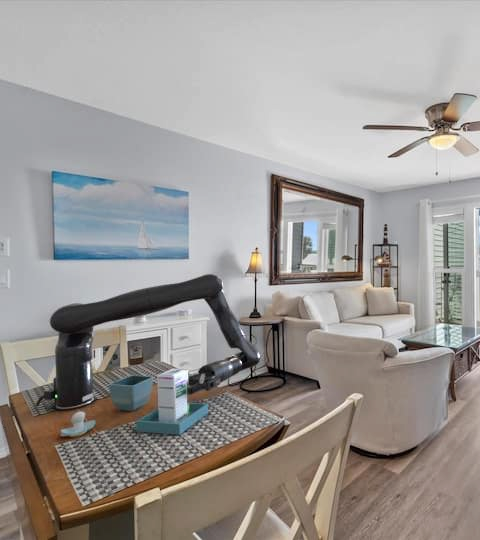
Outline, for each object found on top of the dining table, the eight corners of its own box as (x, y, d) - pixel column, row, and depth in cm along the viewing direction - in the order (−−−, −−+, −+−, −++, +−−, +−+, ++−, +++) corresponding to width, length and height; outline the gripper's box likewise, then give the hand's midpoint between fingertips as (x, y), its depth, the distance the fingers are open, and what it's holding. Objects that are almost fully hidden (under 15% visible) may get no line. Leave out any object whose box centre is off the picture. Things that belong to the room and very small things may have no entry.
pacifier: (56, 436, 90) (64, 442, 87) (55, 413, 90) (63, 418, 87) (89, 425, 96) (98, 430, 93) (88, 403, 96) (97, 408, 93)
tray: (135, 431, 92) (135, 421, 92) (169, 410, 105) (169, 401, 105) (179, 434, 90) (179, 424, 90) (208, 412, 103) (208, 403, 103)
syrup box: (175, 426, 94) (174, 375, 94) (157, 424, 95) (156, 373, 95) (189, 416, 100) (189, 368, 99) (172, 415, 101) (171, 367, 101)
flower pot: (155, 402, 111) (154, 376, 111) (133, 414, 102) (132, 385, 102) (131, 401, 112) (131, 374, 112) (108, 412, 104) (107, 384, 103)
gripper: (199, 359, 116) (158, 375, 101) (233, 363, 112) (196, 379, 96) (199, 381, 116) (158, 399, 101) (233, 385, 112) (196, 405, 97)
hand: (177, 389), depth 99 cm, fingers open, 8 cm apart
